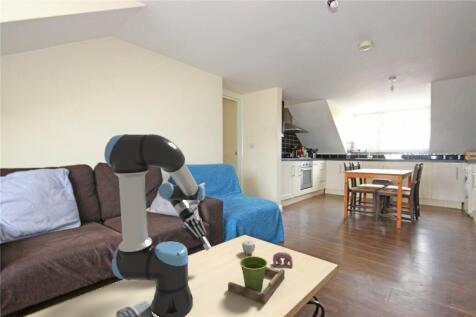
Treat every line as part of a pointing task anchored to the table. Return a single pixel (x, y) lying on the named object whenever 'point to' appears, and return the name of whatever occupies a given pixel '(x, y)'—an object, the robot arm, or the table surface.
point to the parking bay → (267, 291)
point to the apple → (248, 247)
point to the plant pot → (253, 272)
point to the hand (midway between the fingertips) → (209, 249)
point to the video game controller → (284, 255)
